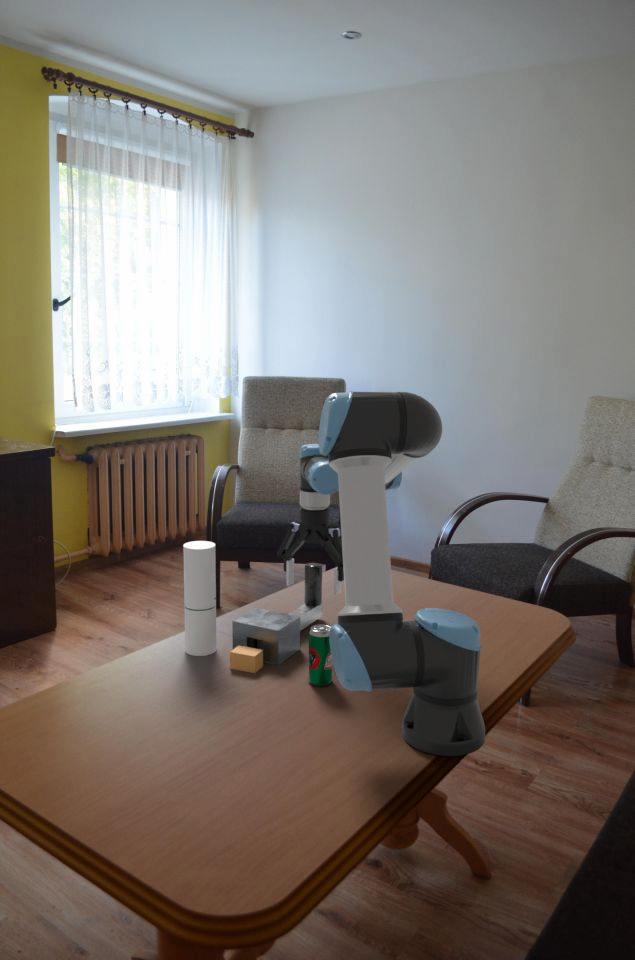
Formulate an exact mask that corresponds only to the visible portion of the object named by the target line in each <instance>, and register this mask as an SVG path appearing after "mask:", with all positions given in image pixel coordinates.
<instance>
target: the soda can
mask: <svg viewBox="0 0 635 960" xmlns="http://www.w3.org/2000/svg"><path fill="white" fill-rule="evenodd" d="M330 628H331V626H330V625H327V624H315V625H311V627H310V631H309V632H308V678H307V679H308V682H309V683H310V684H311V685H313V686H316V687H325V686H328V685H330V684H331V682H333V669H334V665H333V661H332V656H331V651H330V642H329V639H330V636H329V631H330Z"/></svg>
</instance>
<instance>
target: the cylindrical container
mask: <svg viewBox="0 0 635 960" xmlns="http://www.w3.org/2000/svg"><path fill="white" fill-rule="evenodd" d="M182 547H183V550H182V551H183V596H184V597H183V601H184V602H183V603H184V604H183V605H184V606H183V607H184V645H185V646H184V649H185V650H184V651H185V653H186V654H187V655H190V656H194V657H204V656H209V655H212V654H214V653H216V652H217V582H216V581H217V580H216V579H217V575H216V571H217V570H216V569H217V568H216V554H217V553H216V543H215V542H213V541H208V540H193V541H188V542H185V543H183V545H182Z"/></svg>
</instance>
